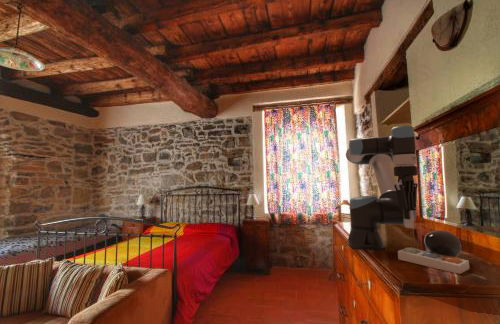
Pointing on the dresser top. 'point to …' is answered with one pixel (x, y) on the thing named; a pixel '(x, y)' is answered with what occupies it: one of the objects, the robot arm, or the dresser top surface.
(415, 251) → the green button
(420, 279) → the dresser top surface
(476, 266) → the dresser top surface
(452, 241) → the dark glossy ovoid
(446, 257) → the orange button
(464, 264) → the button panel
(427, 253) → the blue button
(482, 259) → the dresser top surface
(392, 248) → the dresser top surface
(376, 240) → the robot arm
